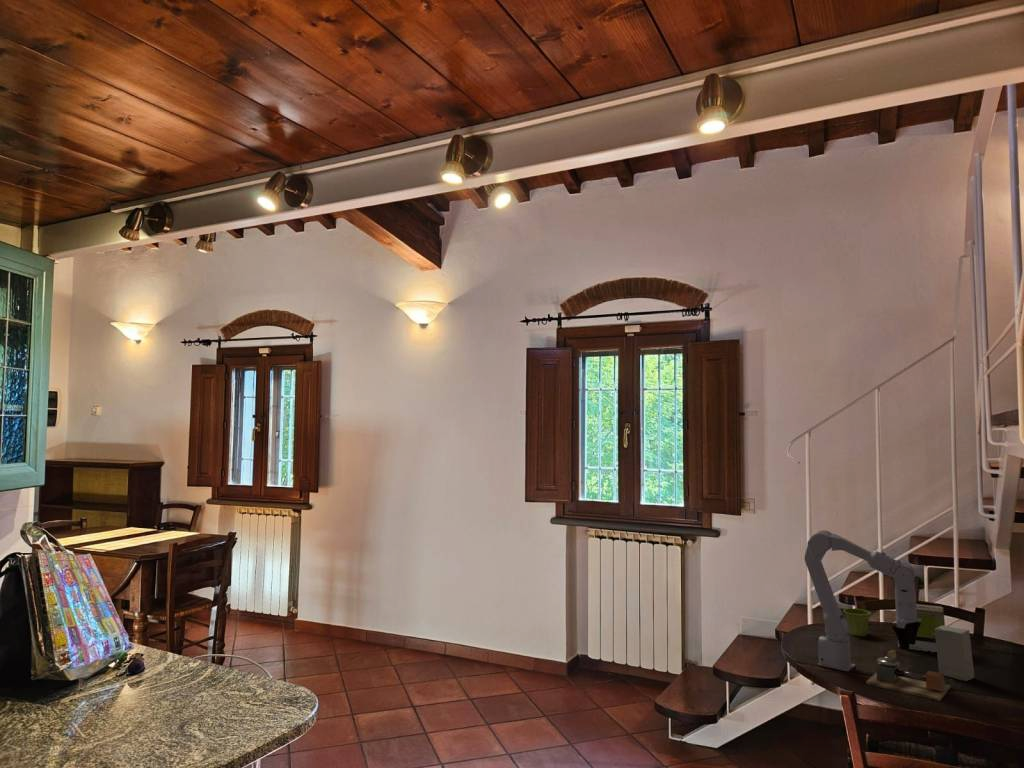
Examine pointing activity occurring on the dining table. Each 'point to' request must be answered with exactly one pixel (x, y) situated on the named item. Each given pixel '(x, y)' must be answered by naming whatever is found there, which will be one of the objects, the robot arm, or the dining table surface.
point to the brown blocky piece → (926, 679)
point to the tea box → (927, 627)
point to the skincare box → (954, 652)
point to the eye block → (887, 673)
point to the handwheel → (889, 659)
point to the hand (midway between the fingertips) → (907, 646)
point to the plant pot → (857, 621)
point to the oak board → (910, 687)
